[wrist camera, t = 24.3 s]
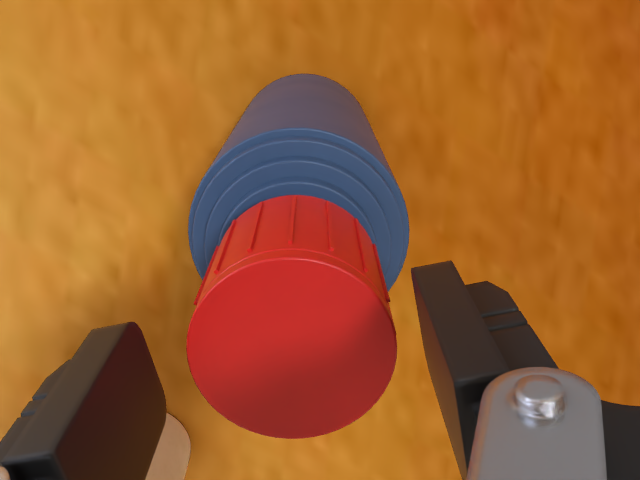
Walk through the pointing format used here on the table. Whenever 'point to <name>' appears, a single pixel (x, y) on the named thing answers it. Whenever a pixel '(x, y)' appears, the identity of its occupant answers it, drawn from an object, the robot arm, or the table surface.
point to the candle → (171, 452)
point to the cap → (293, 321)
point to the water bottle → (302, 168)
